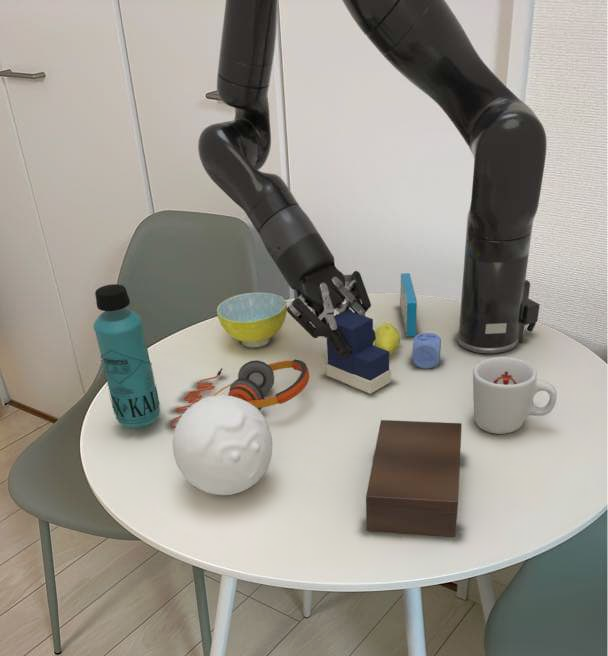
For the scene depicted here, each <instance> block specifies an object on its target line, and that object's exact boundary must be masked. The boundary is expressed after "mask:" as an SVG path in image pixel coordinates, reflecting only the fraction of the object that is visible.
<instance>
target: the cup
mask: <svg viewBox="0 0 608 656" xmlns="http://www.w3.org/2000/svg"><path fill="white" fill-rule="evenodd" d="M537 377H538V371H537V369H536V368H535V367H534V366H533V365H532V364H531V363H530V362H528V361H526V360H523V359H522V358H521V359H520V358H517V357H510V356H496V357H495V356H494V357H490V358H489V357H488V358H486V359H483V360H481V361H479V362H478V363H477V364H475V366H474V368H473V370H472V386H473V387H472V392H473V393H472V395H473V396H472V397H473V398H472V399H473V400H472V401H473V418H474V421H475V424H476V425H477V426H478V428H480V429H481V430H483V431H485V432H487V433H491V434H497V435H504V434H505V435H506V434H511V433H514V432H516V431H518V430H519V429H520V428H521V427H522V426H523V424H524V423H525V420H526V419H527V417H528V416H537V417H539V416H541V417H542V416H546V415H548V414H550V413H551V412H552V411H553V409H554V407H555V406H556V402H557V396H558V393H557V389H556V387H555V386H554V385H553V383H550V382H549V381H545V380H542V379H539V378H537ZM542 391H543V392H546V393H547V394H548V395H549V400H548V402H547V404H546V405H544V406H543V407H542V406H541V407H539V406H537V405H536V404H535V402H534V397H535V396H536V394H537V393H538V392H542Z"/></svg>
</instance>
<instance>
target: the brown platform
mask: <svg viewBox="0 0 608 656" xmlns="http://www.w3.org/2000/svg"><path fill="white" fill-rule="evenodd" d="M462 425H463V424H462V423H461V422H443V421H442V422H436V421H418V420H417V421H416V420H415V421H414V420H393V419H392V420H388V419H381V420H380V424H379V428H378V434H377V439H376V443H375V449H374V454H373V459H372V463H371V464H372V465H371V469H370V476H369V480H368V484H367V490H366V494H365V506H366V507H365V516H366V517H365V520H366V523H365V524H366V525H365V526H366V529H365V530H366V531H367V532H377V533H378V532H379V533H393V534H394V533H395V534H408V535H421V536H422V535H423V536H436V537H437V536H438V537H452V538H455V537H456V533H457V520H458V509H459V495H460V494H459V491H460V472H461V470H460V469H461V449H462V448H461V447H462V427H463V426H462Z"/></svg>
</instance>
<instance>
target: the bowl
mask: <svg viewBox="0 0 608 656" xmlns="http://www.w3.org/2000/svg"><path fill="white" fill-rule="evenodd" d="M287 307H288V303H287V301H286V299H285V298H284V297H283V296H282V295H279V294H276V293H271V292H263V291H262V292H260V291H259V292H247V293H242V294H241V293H240V294H237V295H233V296H231V297H229V298H226V299H225V300H223V301H222V302H220V303H219V304H218V306H217V308H216V314H217V317H218V320H219V323H220V325H221V326H222V328H223V330H224V331H225V332H226V333H227V334H228V335H229V336H230V337H232V338H234V339H235V340H237V341H240V342H241V344H242V345H243V346H245V347H247V348H260V347H263V346H266V345H267V344H268V343H269V342H270V338H272V337H273V336H274V335H276V334H277V333H278V332H279V331H280V330H281V329H282V326H283V325H284V322H285V319H286V316H287Z"/></svg>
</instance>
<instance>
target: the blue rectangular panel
mask: <svg viewBox="0 0 608 656" xmlns="http://www.w3.org/2000/svg"><path fill="white" fill-rule="evenodd" d="M399 292H400V293H399V294H400V297H399V298H400V299H399V310H400V314H401V319H402V323H403V328H404V333H405V337H406V338H411V337H412V338H414V337H415V336H416V335H417V305H418V301H417V296H416V293H415V289H414V284H413V281H412V275H411V273H410V272H406V273H404V272H403V273H400V291H399Z"/></svg>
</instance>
